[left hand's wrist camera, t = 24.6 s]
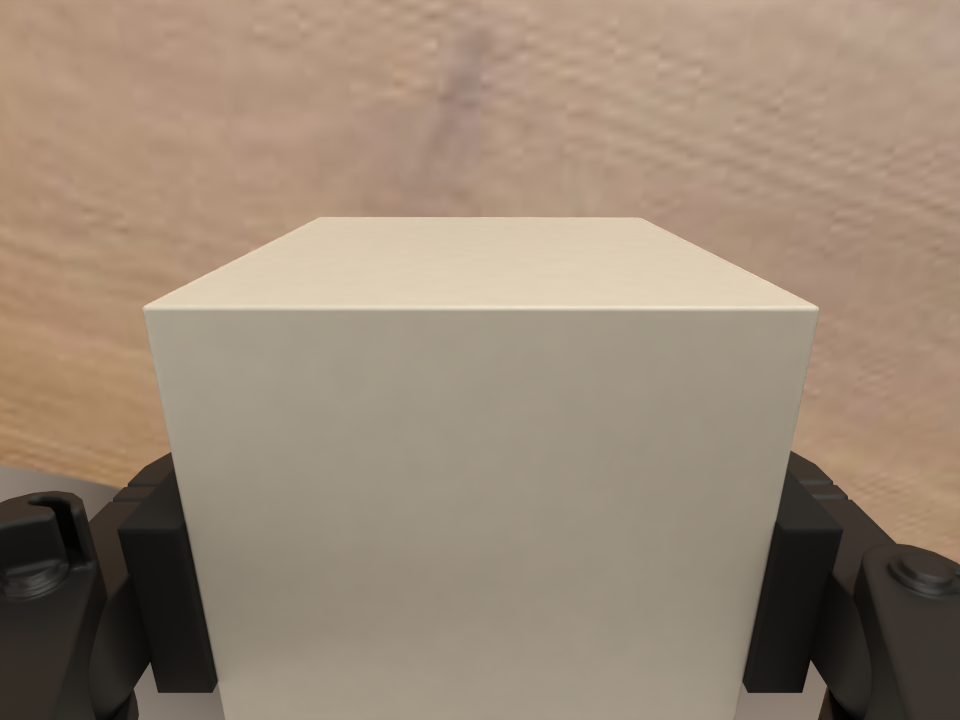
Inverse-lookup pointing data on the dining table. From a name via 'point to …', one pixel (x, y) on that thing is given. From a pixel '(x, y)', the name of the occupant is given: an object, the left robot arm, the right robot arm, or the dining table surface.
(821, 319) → the dining table surface
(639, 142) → the dining table surface
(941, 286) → the dining table surface
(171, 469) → the left robot arm
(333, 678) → the block
